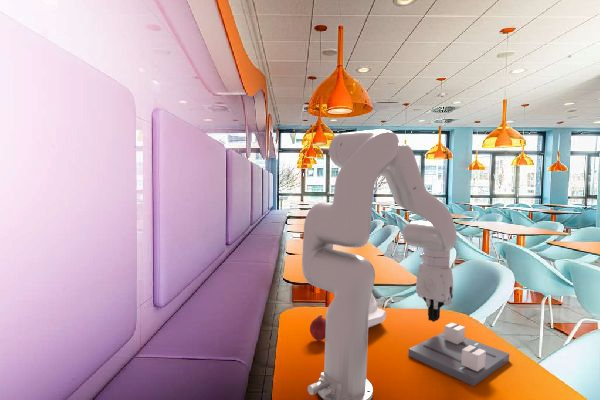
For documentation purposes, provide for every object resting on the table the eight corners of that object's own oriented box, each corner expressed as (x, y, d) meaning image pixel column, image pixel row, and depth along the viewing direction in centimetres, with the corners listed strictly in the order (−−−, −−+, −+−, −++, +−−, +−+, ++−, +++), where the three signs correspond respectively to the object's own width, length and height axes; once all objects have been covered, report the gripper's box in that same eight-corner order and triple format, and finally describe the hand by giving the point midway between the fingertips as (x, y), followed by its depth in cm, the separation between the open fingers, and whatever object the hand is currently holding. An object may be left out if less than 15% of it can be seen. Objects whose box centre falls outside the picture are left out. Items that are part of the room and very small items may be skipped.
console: (473, 386, 86) (474, 377, 86) (408, 355, 100) (408, 348, 100) (508, 360, 98) (509, 353, 98) (446, 336, 112) (446, 330, 112)
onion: (327, 346, 104) (328, 319, 103) (308, 344, 105) (308, 317, 104) (330, 337, 109) (331, 312, 109) (311, 335, 111) (312, 310, 110)
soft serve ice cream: (336, 332, 117) (331, 287, 119) (364, 324, 127) (360, 283, 130) (367, 335, 108) (362, 286, 111) (395, 326, 118) (389, 282, 121)
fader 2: (477, 371, 88) (478, 355, 88) (461, 364, 91) (462, 348, 91) (484, 366, 90) (485, 350, 90) (469, 359, 94) (469, 344, 93)
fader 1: (457, 344, 102) (458, 330, 102) (443, 339, 105) (444, 325, 105) (464, 340, 105) (465, 326, 104) (451, 335, 108) (451, 322, 108)
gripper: (407, 257, 113) (405, 315, 114) (453, 268, 101) (450, 331, 102) (421, 254, 117) (419, 309, 119) (466, 264, 106) (463, 325, 107)
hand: (433, 319), depth 111 cm, fingers closed
